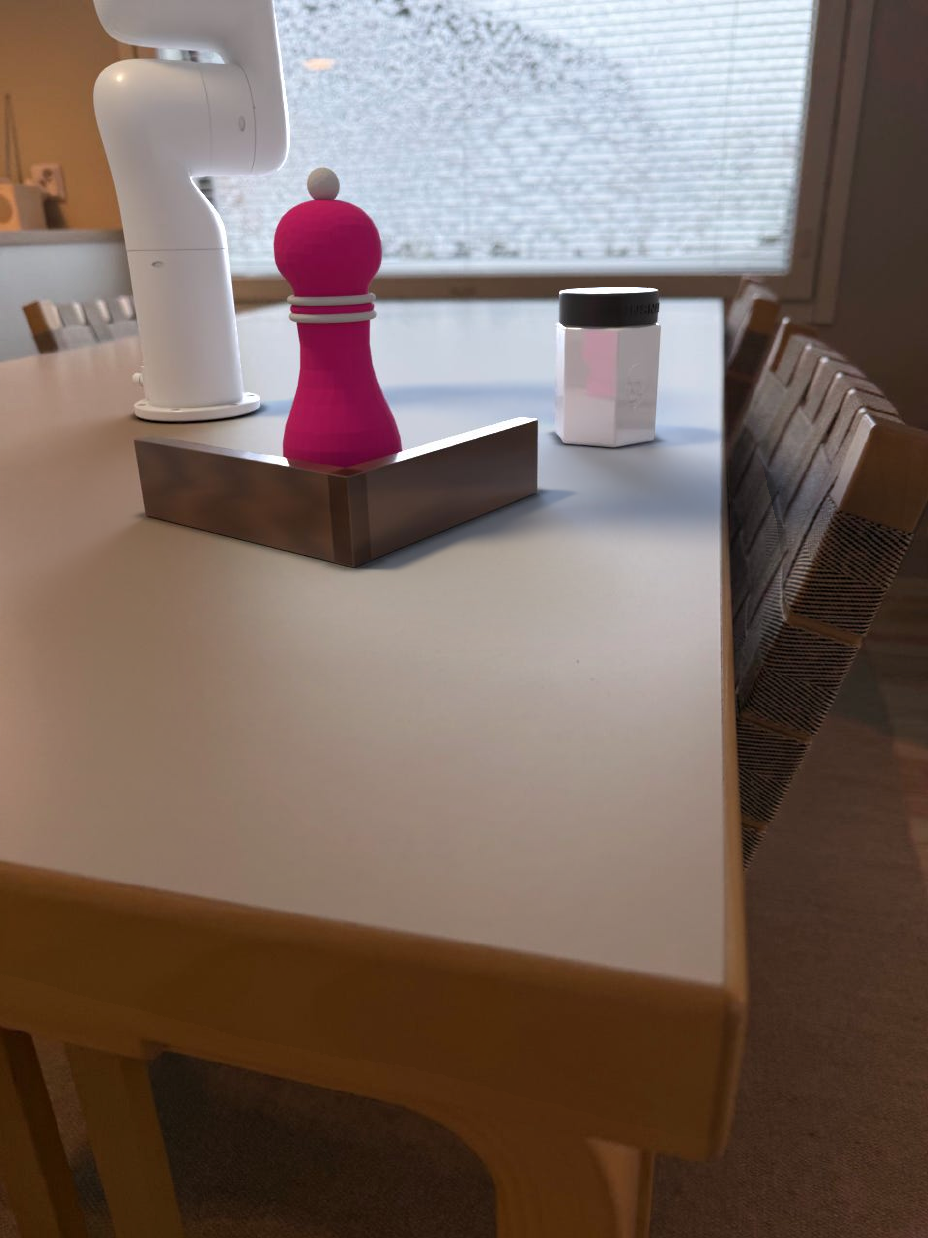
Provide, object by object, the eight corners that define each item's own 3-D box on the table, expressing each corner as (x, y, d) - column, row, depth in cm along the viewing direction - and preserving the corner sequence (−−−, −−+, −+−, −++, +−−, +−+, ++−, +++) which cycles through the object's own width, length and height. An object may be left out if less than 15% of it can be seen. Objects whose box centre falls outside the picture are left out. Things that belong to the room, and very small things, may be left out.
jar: (595, 452, 74) (600, 294, 70) (533, 436, 81) (535, 291, 76) (675, 437, 79) (685, 289, 74) (611, 423, 85) (616, 286, 81)
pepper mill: (426, 513, 59) (412, 167, 51) (368, 546, 53) (343, 159, 45) (330, 502, 62) (304, 173, 54) (266, 532, 56) (225, 167, 48)
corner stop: (145, 515, 60) (132, 439, 58) (341, 460, 74) (337, 396, 72) (353, 567, 50) (347, 476, 48) (537, 492, 63) (538, 419, 62)
